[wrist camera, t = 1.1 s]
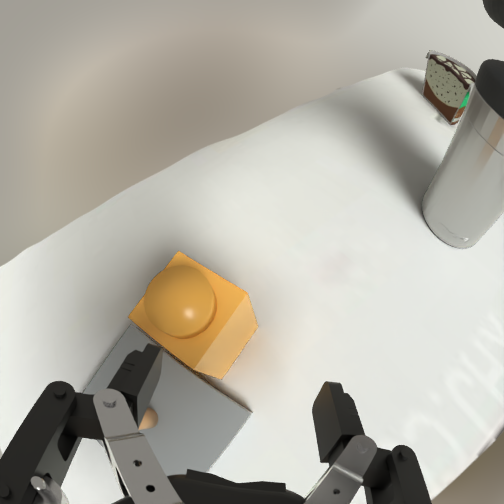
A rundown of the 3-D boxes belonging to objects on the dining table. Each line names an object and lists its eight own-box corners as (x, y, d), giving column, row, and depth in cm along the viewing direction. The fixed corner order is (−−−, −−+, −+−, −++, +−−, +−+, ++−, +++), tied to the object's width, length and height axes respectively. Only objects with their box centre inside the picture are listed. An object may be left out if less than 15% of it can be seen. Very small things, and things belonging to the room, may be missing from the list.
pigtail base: (137, 328, 28) (110, 311, 23) (252, 412, 23) (245, 416, 18) (79, 412, 23) (45, 409, 19) (181, 503, 19) (159, 521, 14)
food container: (475, 130, 38) (493, 88, 29) (455, 130, 38) (473, 85, 29) (438, 91, 44) (449, 52, 35) (417, 90, 44) (427, 48, 35)
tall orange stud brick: (207, 294, 29) (171, 239, 20) (258, 326, 27) (244, 283, 18) (171, 343, 27) (116, 309, 17) (221, 379, 25) (185, 366, 15)
